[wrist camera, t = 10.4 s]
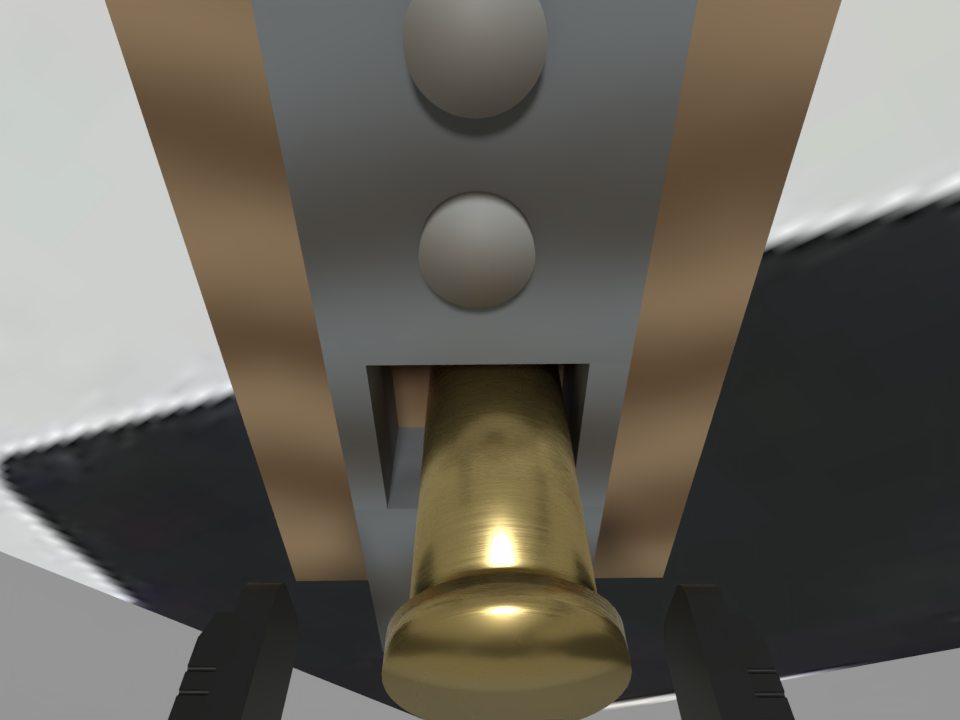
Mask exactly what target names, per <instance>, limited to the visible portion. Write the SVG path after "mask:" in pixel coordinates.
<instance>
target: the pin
mask: <svg viewBox="0 0 960 720" xmlns="http://www.w3.org/2000/svg"><path fill="white" fill-rule="evenodd" d="M631 674H632V669H631V662H630V657H629V651H628V646H627V641H626V636H625V631H624V626H623V622H622V620H621V617H620V615H619V613H618V612H617V610H616V609H615V608H614V607H613V606H612V605H611V604H610V603H609V602H608V601H607V600H606V599H605V598H603V597H602V596H601V595H599V594H598V593H597V590H596V584H595V578H594V573H593V567H592V561H591V555H590V549H589V543H588V538H587V532H586V526H585V520H584V514H583V508H582V503H581V497H580V491H579V485H578V479H577V473H576V468H575V462H574V456H573V450H572V444H571V438H570V433H569V427H568V421H567V415H566V409H565V403H564V398H563V392H562V386H561V380H560V374H559V368H558V364H474V365H430V374H429V385H428V397H427V408H426V419H425V431H424V442H423V453H422V464H421V476H420V487H419V498H418V509H417V521H416V532H415V543H414V554H413V566H412V577H411V588H410V599H409V600H408V601H407V602H405V603H404V604H403V605H402V606H401V607H400V608H399V609H398V610H397V611H396V612H395V614H394V615H393V616H392V618H391V620H390V622H389V624H388V628H387V633H386V641H385V650H384V658H383V667H382V683H383V685H384V688H385V690H386V692H387V693H388V695H389V696H390V698H391V699H392V700H393V701H394V702H395V703H396V704H398V705H399V706H400V707H402V708H403V709H404V710H406V711H408V712H410V713H411V714H413V715H415V716H417V717H420V718H422V719H424V720H581V719H583V718H586V717H588V716H590V715H593V714H595V713H597V712H599V711H600V710H602V709H604V708H606V707H607V706H609V705H610V704H611V703H613V702H614V701H615V700H616V699H617V698H618V697H619V696H621V695H622V693H623V692H624V691H625V689H626V688H627V686H628V684H629V682H630V680H631Z"/></svg>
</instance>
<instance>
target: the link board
mask: <svg viewBox="0 0 960 720" xmlns="http://www.w3.org/2000/svg"><path fill="white" fill-rule="evenodd" d="M841 1H842V0H105V3H106V6H107V9H108V12H109V15H110V18H111V21H112V24H113V27H114V30H115V33H116V36H117V39H118V42H119V45H120V48H121V51H122V54H123V57H124V60H125V63H126V66H127V69H128V72H129V76H130V79H131V82H132V85H133V88H134V91H135V94H136V97H137V100H138V103H139V106H140V109H141V112H142V115H143V118H144V121H145V124H146V127H147V130H148V133H149V136H150V139H151V142H152V145H153V148H154V151H155V154H156V157H157V160H158V164H159V167H160V170H161V173H162V176H163V179H164V182H165V185H166V188H167V191H168V194H169V197H170V200H171V203H172V206H173V209H174V212H175V215H176V218H177V221H178V224H179V227H180V230H181V233H182V236H183V239H184V242H185V245H186V248H187V251H188V255H189V258H190V261H191V264H192V267H193V270H194V273H195V276H196V279H197V282H198V285H199V288H200V291H201V294H202V297H203V300H204V303H205V306H206V309H207V312H208V315H209V318H210V321H211V324H212V327H213V330H214V333H215V336H216V339H217V342H218V346H219V349H220V352H221V355H222V358H223V361H224V364H225V367H226V370H227V373H228V376H229V379H230V382H231V385H232V388H233V391H234V394H235V397H236V400H237V403H238V406H239V409H240V412H241V415H242V418H243V421H244V424H245V427H246V430H247V434H248V437H249V440H250V443H251V446H252V449H253V452H254V455H255V458H256V461H257V464H258V467H259V470H260V473H261V476H262V479H263V482H264V485H265V488H266V491H267V494H268V497H269V500H270V503H271V506H272V509H273V512H274V515H275V518H276V521H277V525H278V528H279V531H280V534H281V537H282V540H283V543H284V546H285V549H286V552H287V555H288V558H289V561H290V564H291V567H292V570H293V573H294V576H295V579H296V581H352V580H368V581H369V586H370V591H371V596H372V601H373V606H374V610H375V615H376V620H377V625H378V630H379V635H380V640H381V645H382V650H383V652H384V650H385V641H386V633H387V628H388V624H389V622H390V620H391V618H392V616H393V615H394V614H395V612H396V611H397V610H398V609H399V608H400V607H401V606H402V605H403V604H404V603H405V602H407V601H408V600H409V599H410V588H411V577H412V566H413V554H414V543H415V532H416V521H417V509H418V498H419V487H420V476H421V464H422V453H423V442H424V431H425V419H426V408H427V397H428V385H429V374H430V365H474V364H558V368H559V374H560V380H561V386H562V392H563V398H564V403H565V409H566V415H567V421H568V427H569V433H570V438H571V444H572V450H573V456H574V462H575V468H576V473H577V479H578V485H579V491H580V497H581V503H582V508H583V514H584V520H585V526H586V532H587V538H588V543H589V549H590V555H591V561H592V567H593V573H594V578H662V577H663V575H664V572H665V569H666V565H667V562H668V559H669V556H670V552H671V549H672V546H673V543H674V540H675V536H676V533H677V530H678V527H679V523H680V520H681V517H682V514H683V511H684V507H685V504H686V501H687V498H688V494H689V491H690V488H691V485H692V482H693V478H694V475H695V472H696V469H697V465H698V462H699V459H700V456H701V453H702V449H703V446H704V443H705V440H706V436H707V433H708V430H709V427H710V424H711V420H712V417H713V414H714V411H715V407H716V404H717V401H718V398H719V395H720V391H721V388H722V385H723V382H724V378H725V375H726V372H727V369H728V365H729V362H730V359H731V356H732V353H733V349H734V346H735V343H736V340H737V336H738V333H739V330H740V327H741V324H742V320H743V317H744V314H745V311H746V307H747V304H748V301H749V298H750V295H751V291H752V288H753V285H754V282H755V278H756V275H757V272H758V269H759V266H760V262H761V259H762V256H763V253H764V249H765V246H766V243H767V240H768V237H769V233H770V230H771V227H772V224H773V220H774V217H775V214H776V211H777V208H778V204H779V201H780V198H781V195H782V191H783V188H784V185H785V182H786V178H787V175H788V172H789V169H790V166H791V162H792V159H793V156H794V153H795V149H796V146H797V143H798V140H799V137H800V133H801V130H802V127H803V124H804V120H805V117H806V114H807V111H808V108H809V104H810V101H811V98H812V95H813V91H814V88H815V85H816V82H817V79H818V75H819V72H820V69H821V66H822V62H823V59H824V56H825V53H826V50H827V46H828V43H829V40H830V37H831V33H832V30H833V27H834V24H835V21H836V17H837V14H838V11H839V8H840V4H841Z"/></svg>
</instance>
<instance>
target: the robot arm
mask: <svg viewBox="0 0 960 720" xmlns="http://www.w3.org/2000/svg"><path fill="white" fill-rule="evenodd" d="M663 637H664V646H665V652H666V656H667V661H668V665H669V669H670V673H671V678H672V682H673V686H674V690H675V695H676V699H677V703H678V707H679V712H680V716H681V720H795V718H794V715H793V713H792V710H791V707H790V705H789V702H788V699H787V698H786V697H785V694H784V692H785V691H784V688H783V686H782V683H781V680H780V677H779V675H778V674H777V673H776V667H775V664H774V661H773V658H772V656H771V653H770V650H769V648H768V645H767V642H766V639H765V638H764V637H763V635H762V634H761V633H760V632H759V630H758V629H757V628H756V626H755V625H754V624H753V623H752V621H751V620H750V619H749V617H748V616H747V615H746V614H729V613H728V610H727V607H726V604H725V601H724V598H723V596H722V593H721V591H720V589H719V588H718V587H717V586H716V585H678V586H677V587H676V590H675V592H674V595H673V598H672V601H671V604H670V606H669V609H668V612H667V615H666V618H665V621H664V627H663ZM298 642H299V620H298V617H297V614H296V611H295V608H294V606H293V603H292V600H291V597H290V594H289V591H288V589H287V586H286V584H285V583H247V584H246V585H245V586H244V588H243V590H242V592H241V594H240V597H239V600H238V603H237V606H236V609H235V612H217V613H216V615H215V616H214V617H213V618H212V620H211V621H210V622H209V624H208V625H207V626H206V627H205V629H204V630H203V631H202V633H201V634H200V635H199V636H198V638H197V641H196V644H195V646H194V649H193V652H192V655H191V657H190V660H189V663H188V666H187V667H188V669H187V671H186V672H185V674H184V677H183V679H182V682H181V685H180V688H179V694H178V696H176V698H175V701H174V704H173V707H172V709H171V712H170V715H169V718H168V720H281V718H282V713H283V709H284V705H285V701H286V696H287V692H288V688H289V683H290V679H291V675H292V670H293V666H294V662H295V658H296V653H297V649H298Z"/></svg>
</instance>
